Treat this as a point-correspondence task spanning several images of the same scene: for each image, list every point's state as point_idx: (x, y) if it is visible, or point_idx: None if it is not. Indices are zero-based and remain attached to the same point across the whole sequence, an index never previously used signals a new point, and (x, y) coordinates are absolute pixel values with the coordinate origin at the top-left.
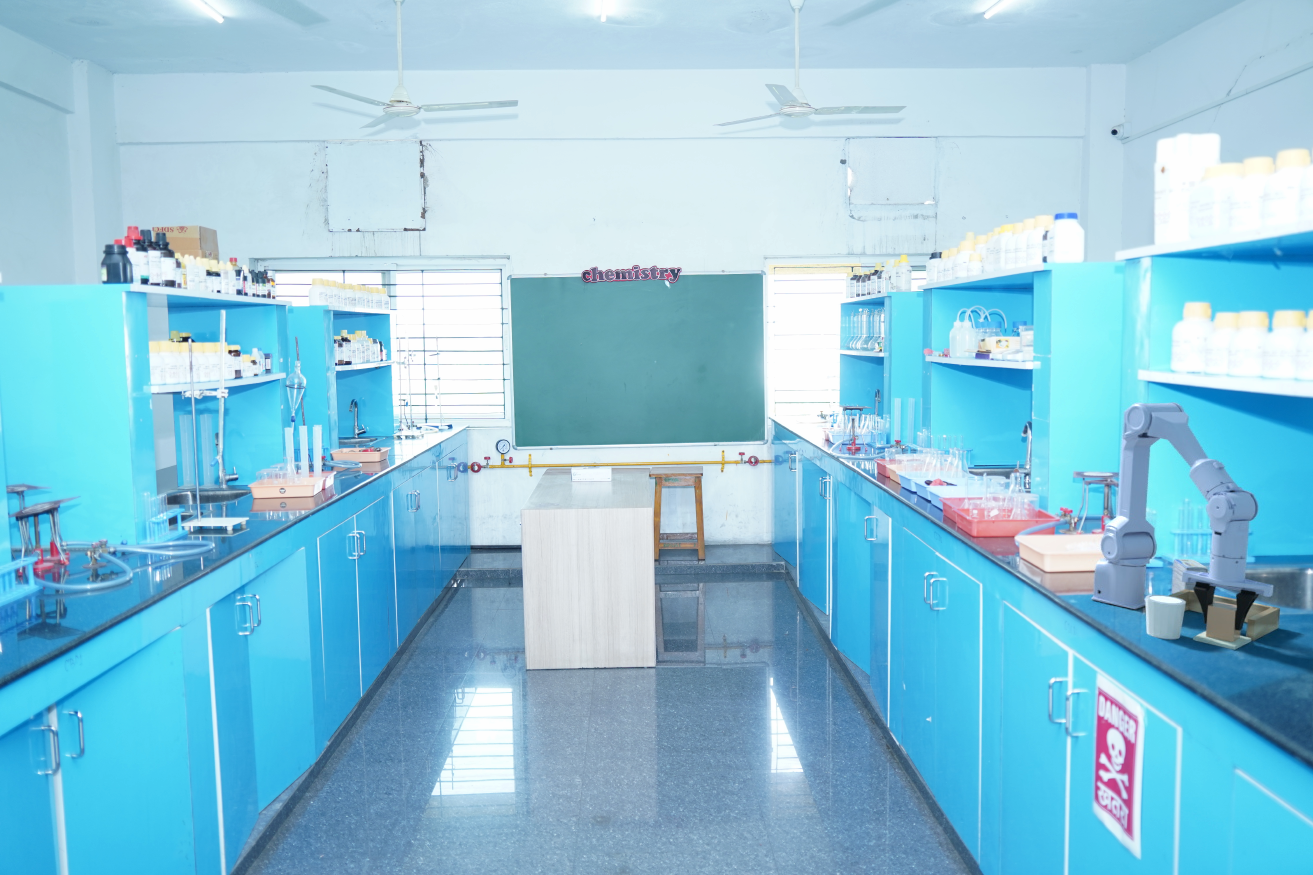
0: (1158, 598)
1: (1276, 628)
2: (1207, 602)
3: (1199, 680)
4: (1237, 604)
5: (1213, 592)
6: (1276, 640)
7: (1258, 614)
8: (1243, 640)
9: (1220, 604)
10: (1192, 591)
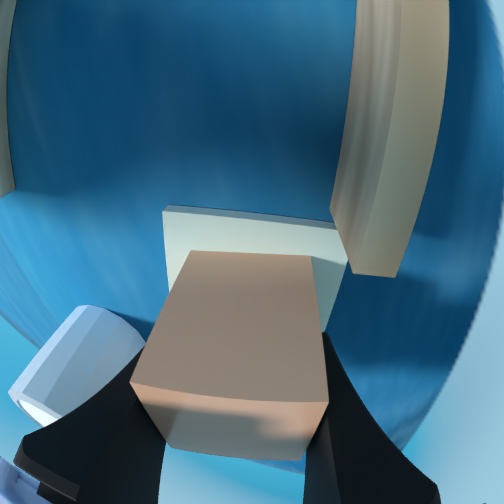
0: (47, 423)
1: None
2: (161, 456)
3: (284, 466)
4: (307, 493)
5: (117, 463)
6: (440, 127)
7: (406, 74)
8: (329, 292)
9: (196, 425)
10: None
